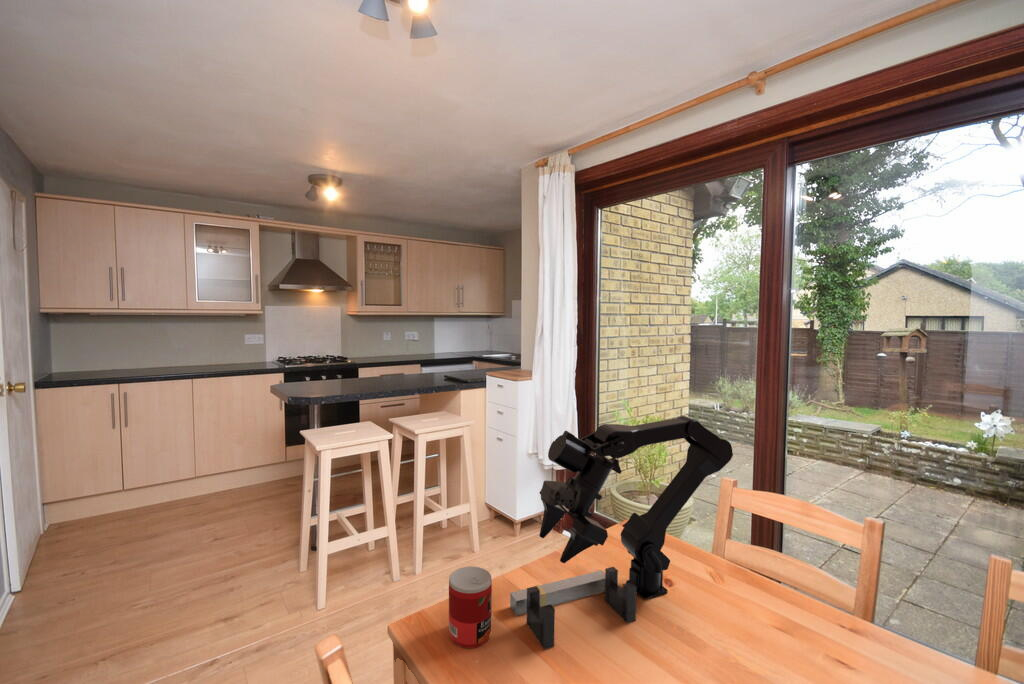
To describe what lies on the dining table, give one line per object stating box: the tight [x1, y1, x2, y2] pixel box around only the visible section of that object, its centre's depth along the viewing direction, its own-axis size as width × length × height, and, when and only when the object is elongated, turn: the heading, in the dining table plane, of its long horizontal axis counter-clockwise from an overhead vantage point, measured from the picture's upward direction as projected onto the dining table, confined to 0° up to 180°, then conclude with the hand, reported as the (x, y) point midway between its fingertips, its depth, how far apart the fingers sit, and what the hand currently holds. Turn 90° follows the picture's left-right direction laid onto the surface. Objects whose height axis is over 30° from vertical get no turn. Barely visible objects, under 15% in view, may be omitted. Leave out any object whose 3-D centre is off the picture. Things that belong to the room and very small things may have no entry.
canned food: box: [448, 566, 493, 649], centre depth 84 cm, size 8×8×11 cm
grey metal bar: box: [509, 569, 605, 616], centre depth 95 cm, size 22×3×3 cm, turn 113°
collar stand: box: [526, 566, 637, 650], centre depth 88 cm, size 20×8×7 cm, turn 113°
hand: (551, 549), depth 93 cm, fingers open, 9 cm apart
